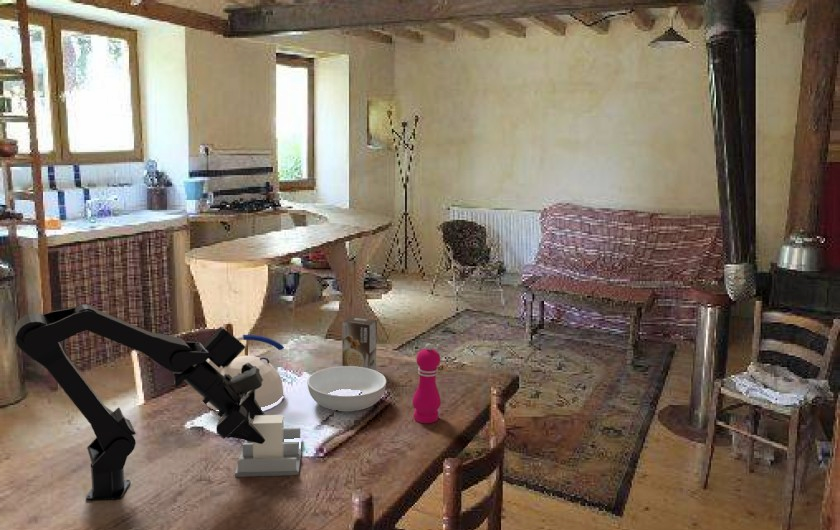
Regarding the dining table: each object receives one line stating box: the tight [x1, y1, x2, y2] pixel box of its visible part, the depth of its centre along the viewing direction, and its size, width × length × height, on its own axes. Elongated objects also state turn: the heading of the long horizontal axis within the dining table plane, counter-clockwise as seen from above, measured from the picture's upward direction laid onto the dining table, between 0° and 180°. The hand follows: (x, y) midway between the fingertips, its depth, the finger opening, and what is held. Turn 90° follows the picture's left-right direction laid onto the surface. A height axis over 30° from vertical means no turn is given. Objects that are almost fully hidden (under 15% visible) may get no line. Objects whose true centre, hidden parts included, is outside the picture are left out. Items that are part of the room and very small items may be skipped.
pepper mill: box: [412, 342, 442, 424], centre depth 164 cm, size 7×7×20 cm
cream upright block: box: [252, 414, 284, 459], centre depth 139 cm, size 4×6×10 cm, turn 98°
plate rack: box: [234, 427, 302, 478], centre depth 143 cm, size 15×13×4 cm
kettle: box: [206, 334, 285, 411], centre depth 172 cm, size 20×21×18 cm
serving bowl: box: [306, 365, 387, 412], centre depth 173 cm, size 21×21×7 cm
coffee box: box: [341, 316, 378, 371], centre depth 196 cm, size 9×6×16 cm
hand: (265, 432), depth 138 cm, fingers open, 9 cm apart
